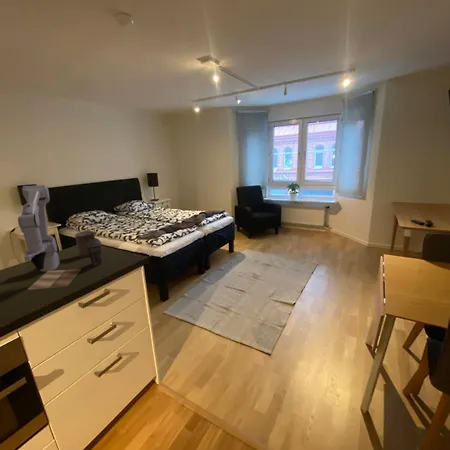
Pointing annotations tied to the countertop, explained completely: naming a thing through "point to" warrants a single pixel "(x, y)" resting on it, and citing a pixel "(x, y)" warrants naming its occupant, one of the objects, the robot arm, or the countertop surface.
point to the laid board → (66, 278)
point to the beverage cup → (95, 250)
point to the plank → (46, 280)
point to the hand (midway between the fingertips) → (40, 268)
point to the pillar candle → (83, 243)
